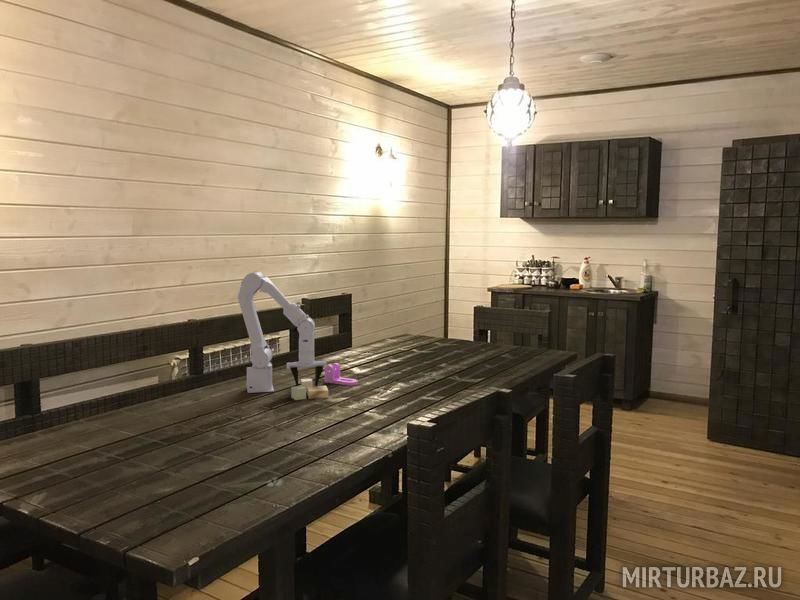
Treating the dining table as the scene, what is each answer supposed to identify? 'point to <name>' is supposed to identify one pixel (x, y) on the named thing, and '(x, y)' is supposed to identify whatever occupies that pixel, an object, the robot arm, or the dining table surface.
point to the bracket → (337, 376)
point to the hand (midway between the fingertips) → (306, 386)
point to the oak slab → (317, 392)
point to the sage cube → (298, 392)
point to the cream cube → (306, 383)
